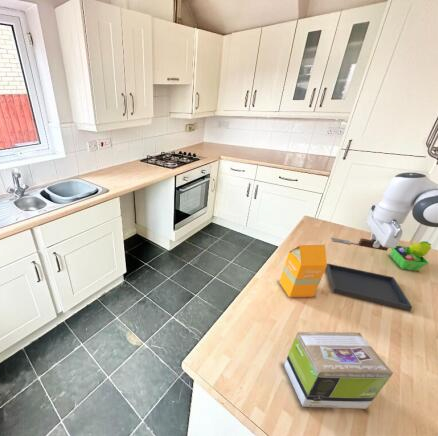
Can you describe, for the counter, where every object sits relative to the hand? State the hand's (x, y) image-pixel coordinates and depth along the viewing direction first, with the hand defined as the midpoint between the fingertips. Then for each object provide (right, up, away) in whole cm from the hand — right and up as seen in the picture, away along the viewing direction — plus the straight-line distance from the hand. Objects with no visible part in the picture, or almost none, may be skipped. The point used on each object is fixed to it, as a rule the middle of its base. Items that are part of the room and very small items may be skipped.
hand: (373, 244), depth 98 cm
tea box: (-48, -32, -37) cm, 68 cm away
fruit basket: (+17, -9, +4) cm, 19 cm away
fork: (-4, 0, +2) cm, 5 cm away
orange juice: (-37, -16, -8) cm, 40 cm away
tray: (-11, -15, -7) cm, 20 cm away
